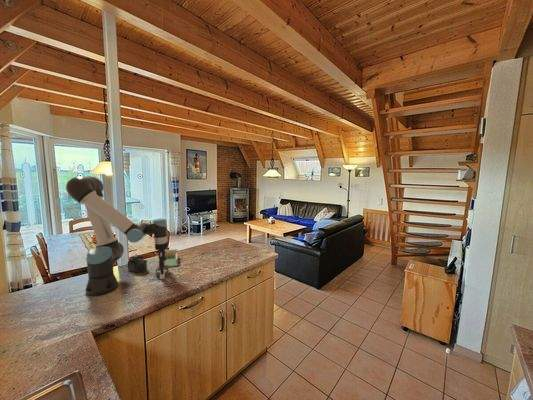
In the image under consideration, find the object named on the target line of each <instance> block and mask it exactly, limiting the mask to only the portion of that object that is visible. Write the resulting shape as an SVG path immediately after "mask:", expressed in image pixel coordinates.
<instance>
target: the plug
mask: <svg viewBox="0 0 533 400" xmlns="http://www.w3.org/2000/svg"><path fill="white" fill-rule="evenodd" d="M158 268H159V266H158V265H157V266H156V268H155V277H156V278H160V270H158ZM164 271H165V277H168V276H169V273H170V267H169V265H165V266H164Z"/></svg>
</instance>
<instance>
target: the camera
mask: <svg viewBox="0 0 533 400" xmlns="http://www.w3.org/2000/svg"><path fill="white" fill-rule="evenodd" d="M143 258H144V255H143V254H139V255H133V256H132V257H131V258H130V259H129V260H128V261H127V269H128V271H131V272H135V273H140V274H141V273H144V272H147V271H148V264H147V263H148V260H147V259H143Z"/></svg>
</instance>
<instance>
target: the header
mask: <svg viewBox="0 0 533 400" xmlns="http://www.w3.org/2000/svg"><path fill="white" fill-rule="evenodd" d="M164 251H165V259H166V260H164V261H165V265H169V268H174V267H175V268H176V267H179V255H178V248H173V249H164ZM157 266H159V263H158V264H157Z"/></svg>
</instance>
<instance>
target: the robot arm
mask: <svg viewBox="0 0 533 400" xmlns="http://www.w3.org/2000/svg"><path fill="white" fill-rule="evenodd" d="M65 185H66V186H65V189H66V192H67V194H68V195H69V196H70V197H71V198H72V199H74V200H75V202H77V203H78V204H79V205H84V206H85V209H86V212H87V216H88V218H89V221H90V223H91V227H92V229H93V233H94V236H95V238H96V244H94V245H95V248H91V249H90V250H89V251H87V253H86V258H85V260H86V267H87V275H88V278H87V283H86V287H85V295H87V296H89V297H97V296H102V295H106V294H110V293H112V292H113V291H115V290H117V289H118V287H119V281H118V280H117V278H116V275H115V274H114V264H115V263H116V262H117V261H119V260H120V259H121V258H122V256H123V255H124V253H125V248H124V245H123V244H122V243H121V242H120V241H119V239H118V238H117V237H115V236H114V234H113V231H112V227H111V225H112V226H113V227H115V228H116V229H117V230H119V231H120V232H122V233H123V234H124V235H126V239H127V241H129V242H130V243H137V242H140V241H141V240H143V238H144V237H145V236H147V235H149V236H150V235H153V236H154V237H153V239H154V249H155V251H158V253H157V255H158V264H159V268H158V270H160V277H159V279H160V280H164V279H166V276H165V271H164V266H165V261H164V260H166V259H165V251H164V250H168V247H169V246H168V245H169V244H168V239H169V236H168V225H167V220H166V218H154V219H153V221H152V222H137V223H135V222H134V221H132V220H130V218H128V217H127V216H125V215H124V214H123V213H121V212H120V211H119V210H118V209H116V208H115V207H114V206H113V205H111V204H110V203H109V202H107V201H106V200H105V199H103V198H104V197H105V195H104V193H103V191H104V187H105V186H104V184H103V181H102V180H101V179H99V178H97V177H96V176H91V175H87V176H74V177H72V178H70V179H69V180H68V181H67V182H66V184H65Z"/></svg>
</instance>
